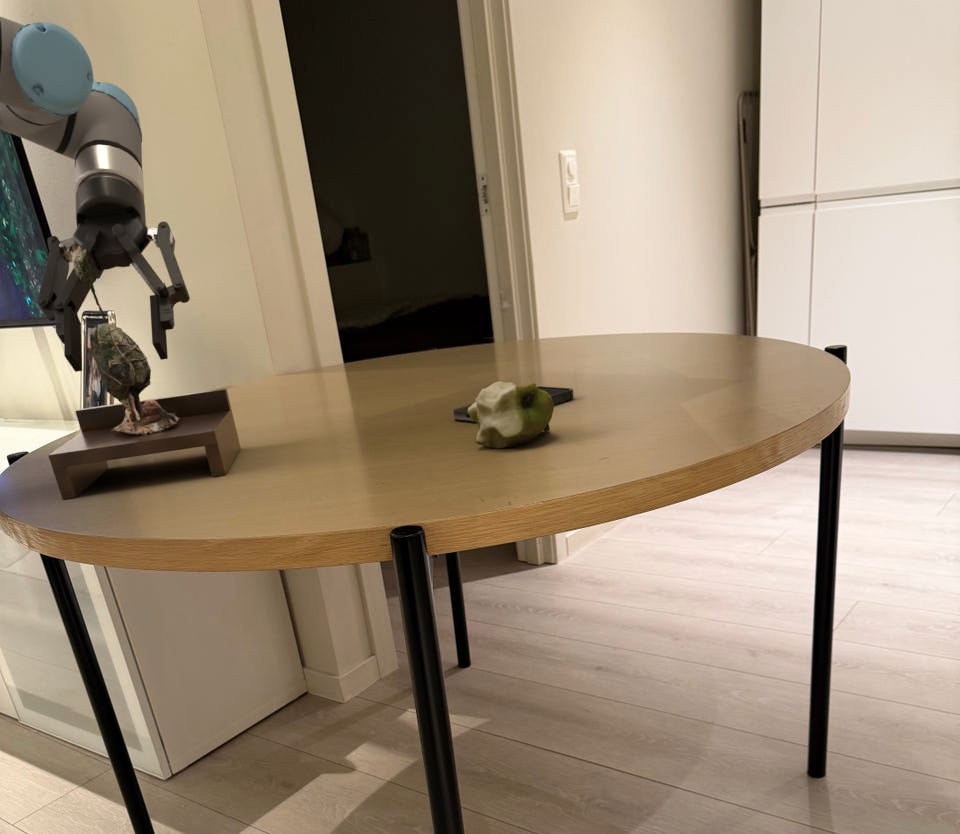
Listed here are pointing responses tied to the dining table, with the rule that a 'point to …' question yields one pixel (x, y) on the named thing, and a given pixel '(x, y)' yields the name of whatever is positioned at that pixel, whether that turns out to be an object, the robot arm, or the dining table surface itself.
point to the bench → (146, 438)
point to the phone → (555, 393)
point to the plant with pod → (122, 365)
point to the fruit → (511, 414)
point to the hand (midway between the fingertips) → (116, 357)
